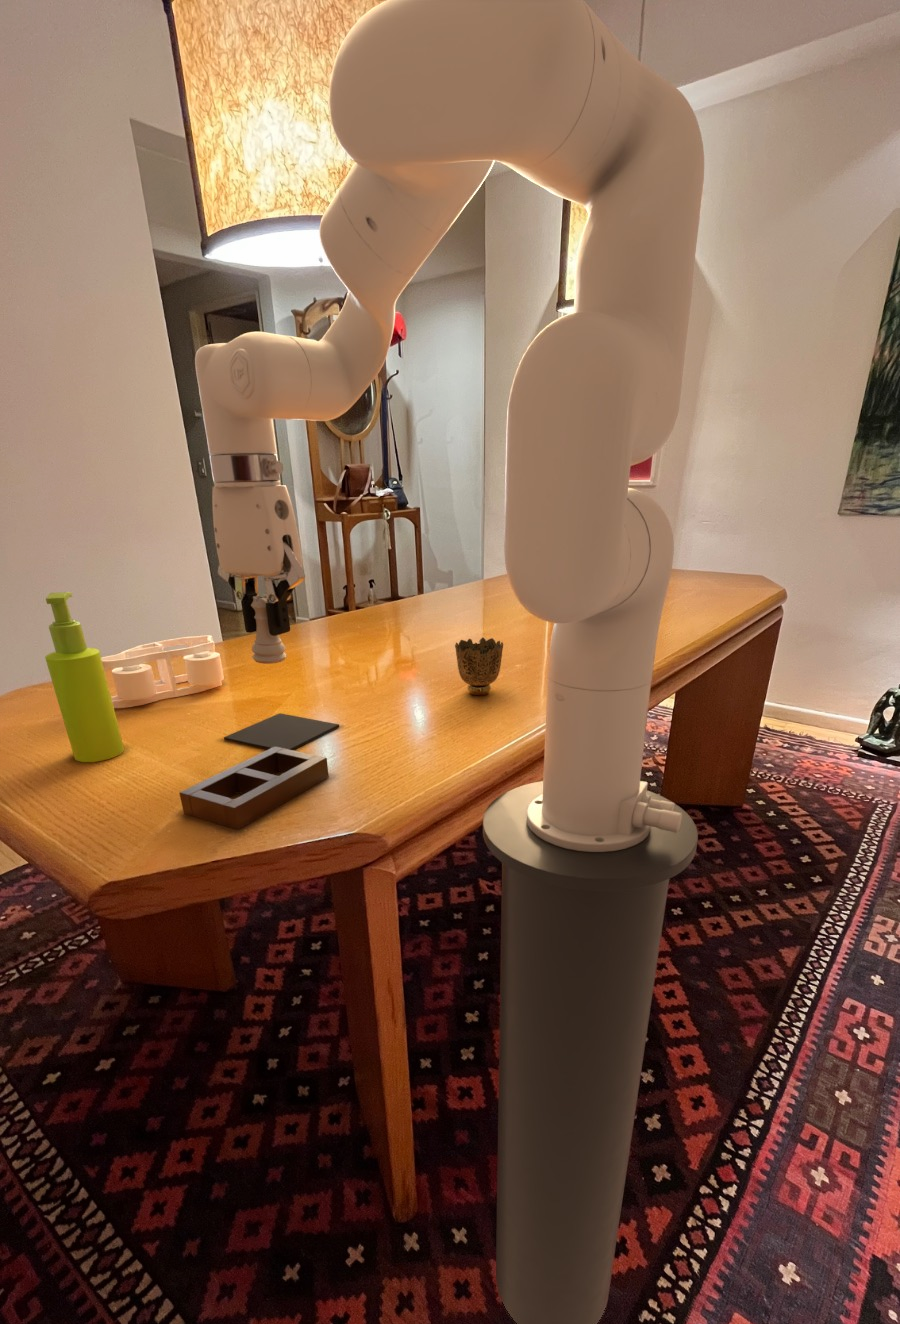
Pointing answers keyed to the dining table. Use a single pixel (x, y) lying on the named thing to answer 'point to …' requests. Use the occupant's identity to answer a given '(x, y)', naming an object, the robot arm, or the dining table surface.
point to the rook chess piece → (265, 636)
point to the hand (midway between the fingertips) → (268, 630)
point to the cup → (479, 663)
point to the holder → (254, 787)
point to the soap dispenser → (81, 688)
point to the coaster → (282, 732)
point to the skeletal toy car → (163, 671)
